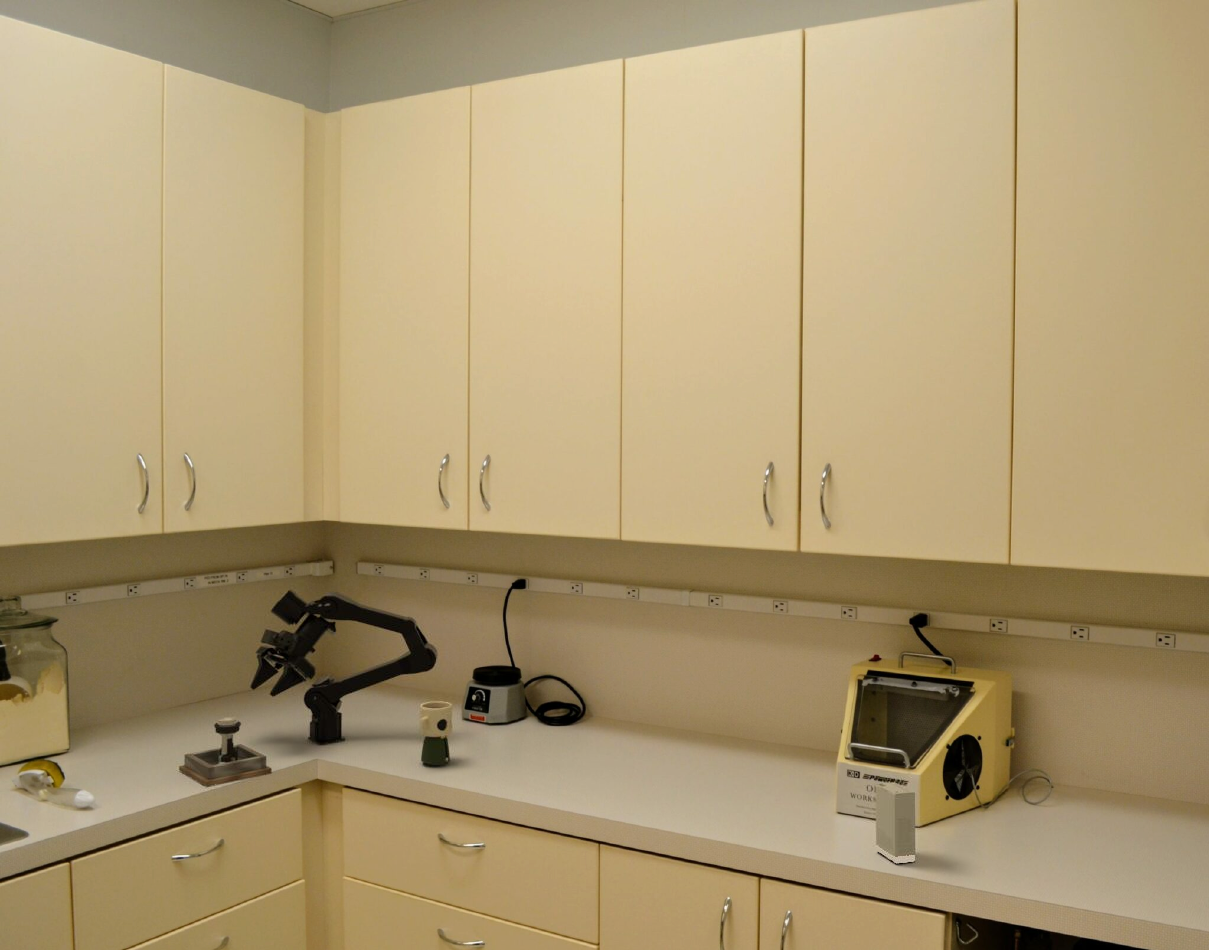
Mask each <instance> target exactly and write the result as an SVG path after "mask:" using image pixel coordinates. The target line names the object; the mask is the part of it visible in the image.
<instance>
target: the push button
mask: <svg viewBox="0 0 1209 950" xmlns="http://www.w3.org/2000/svg"><path fill="white" fill-rule="evenodd" d="M237 719H238V718H237V717H234V716H233V717H232V716H228V717H227V716H226V717H221V718H219V719H218V722H216V723H214V725H213V727H214V729H215V733H216V734H219V736H221V747H220V748H221V749H220V756H219V764H222V763H227V762H232V761H237V760H238V751H235V748H233V745H235V744H234V734H237V733H238V732H240V726H241V725H242V723H241V721H238V720H237Z"/></svg>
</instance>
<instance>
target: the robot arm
mask: <svg viewBox="0 0 1209 950" xmlns="http://www.w3.org/2000/svg"><path fill="white" fill-rule="evenodd" d="M270 613H271V614H273V615H274V616H275V617H277V618H278V619H279V620H281V621H282V622H284V623H285V624H286V625H288V626H289V627H290V626H294V625H295V626H297V625H298V624H299V623H300V622H301V621H302V622H301V624H300V625H299V626H298V627H297V629H296V630H295V631H294V632H291V631H288V630H285V629H282V630H281V631H279V632H278V631H274V630H270V629H268V628H267V629H264V632H263V635H262V637H261V640H260V643H262V644H267V645H261V646H260V647H258V649H257V650H256V651H255V654H256V659H257V661H258V666H257V669H256V671H255V674H254V676H253V679H252V681H251V684H250V686H249V687H250V690H251V689H252V690H253V691H255V690H256V689H257V688H259V687H260V686H262V685H263V684H264V683H266V682H267V681H268V680H270V679H271V678H273V677H274V676H275V675H277V674H278V673H280V669H282V668H283V669H282V670H283V672H282V673H281V675H280V676H279V678H278V680H277V681H276V683H275V684H274V686H273V687H272V689H271V690H270V693H269V695H270V696H271V697H272V698H273V697H276V696H277V695H279V694H281V693H284V692H285V691H287V690H290V688H293V687H295V686H297V685H300V684H302V683H306V682H307V681H308V680H309V681H311V680H312V679H313V678H314V677H315V675H316V674H317V668H316V667H315V665H313V664H312V663H311V662H310V661H309V660H308V659H307V658H306V657H307V656H308V655H309V653H311V654H314V653H315V652H316V650H317V649H315V648H314V647H315V646H316V645H317V643H318V642H319V641H320V640H321V639H322V637H323V636H324V635H325V634H326V633H329V634H330V635H332V636H334V635H335V634H336V632H337V628H336V623H337V622H336V621H350V622H358V623H361V624H365V625H368V626H372V627H375V628H379V629H383V630H386V631H391V632H394V633H397V634H401V635H402V638H403V639H404V642H405V644H406V646H407V648H408V650H407V651H406V652H405V653H403V654H402V655H401V656H399V657H396V658H394V659H391V660H389V661H386V662H382V663H380V664H377V665H375V666H372V667H369V668H366V669H364V670H361V671H359V672H356V673H353V674H350V675H347V676H344V677H340V678H338V677H337V678H334V674H333V673H330V674H328V675H327V676H324V677H322V678H319V677H318V678H316V679H315V680H314V682H313V683H312V684H311V685H310V686H309V688H308V689H307V690H306V691H305V693H304V695H303V703H304V705H305V707H306V708H307V709H308V710H310V712H311V720H310V722H309V736H308V737H307V740H309V741H311V742H312V743H316V744H318V745H321V746H322V745H326V744H331V743H337V742H341V741H345V740H346V737H344V736H342V735H343V733H342V732H343V731H342V728H343V725H342V724H343V723H342V722H343V721H342V720H343V719H342V718H343V714H342V712H340V709H341V706H342V703H343V701H342V700H341V699H343V697H346V696H347V695H350V694H352V693H356V692H358V691H360V690H364V689H367V688H369V687H371V686H374V685H377V684H381V683H383V682H386V681H388V680H390V679H394V678H396V677H399V676H403V675H415V674H421V673H425V672H430V670H432V669H433V668H434V667H435V665H436V664H437V660H438V656H439V655H438V650H437V648H436V647H435V646H434V645H433V644H431V643H429V642H428V639H427V638H426V636H425V634H424V633H423V632H422V630H421V629H420V627H419V625H418V623H417V621H416V619H415V618H414V617H411V616H404V615H401V614H397V613H393V612H390V611H386V610H383V609H379V608H375V607H372V606H368V605H364V604H361V603H359V602H357V601H355V600H353V599H352V598H350V597H348V596H346V595H344V594H342V593H340V592H337V591H330V592H327V593H325V595H323V596H322V597H321V598H320V599H317V600H311V601H309V602H307V601H306V600H304V599H303V598H302V597H300V596H299V595H298V594H297V593H296V592H295V591H294V590H293V589H289V590H288V591H287V592H286V593H285V594H284V595H283V596H282V597H281V599H280V600H278V601H277V602H276V603H275V605H274V606H273V607H272V608H271V610H270ZM318 615H319V616H318ZM305 616H306V617H305ZM304 617H305V619H304V620H303V618H304ZM329 620H333V621H329ZM268 645H270V646H268ZM273 647H274V648H273ZM336 741H337V742H336Z"/></svg>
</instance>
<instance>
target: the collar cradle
mask: <svg viewBox="0 0 1209 950" xmlns="http://www.w3.org/2000/svg"><path fill="white" fill-rule="evenodd" d="M233 748H235V751H238V760H237V761H232V762H227V763H222V764H219V756H220V749H221V747H217V748H213V749H206V750H202V751H197V752H192V753H187V754H186V753H185V754H184V759H183V760H184V762H183V763H184V765H183V764H182V765H179V766H178V771H179V770H180V771H182V772H183V773H182V772H181V773H182V774H184V773H185V774H187V775H188V776H187V775H186V776H187V777H189V776H190V777H192V778H193V779H192V778H191V779H192V780H194V779H195V780H197V781H198V782H197V781H196V782H197V783H199V782H200V783H201V784H200V783H199V784H200V785H202V784H203V786H204V787H205V786H206V787H207V786H208V787H212V785H213V786H216V785H215V784H217V785H221V783H222V784H226V782H227V783H231V782H235V780H236V781H240V780H241V781H242V780H244V779H249V778H254V777H259V776H264V775H268V774H272V773H273V772H272V767H270V766H268V765H267V756H266V755H265V754H263V753H261V752H258V751H256V750H254V749H252V748H250V747H248V746H246V745H244V744H242V743H239V744H233ZM180 771H179V772H180ZM185 774H184V775H185ZM190 777H189V778H190ZM195 780H194V781H195Z"/></svg>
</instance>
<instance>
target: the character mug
mask: <svg viewBox="0 0 1209 950" xmlns="http://www.w3.org/2000/svg"><path fill="white" fill-rule="evenodd" d="M452 717H453V704H452V703H451V702H447V701H439V700H437V701H427V702H423V703H420V706H419V734H420V735H421V736H424V740H423V742H422V749H421V755H420V756H421V757H420V761H421V762H422V763H423V764H424V763H425V764H428V765H430V764H431V765H430V766H441V765H445V764H446V765H447V762H448V763H450V761H451V759H450V758H451V757H450V747H449V740H448V737H447V736H449V735H451V733H452V731H453V723H452Z"/></svg>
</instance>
